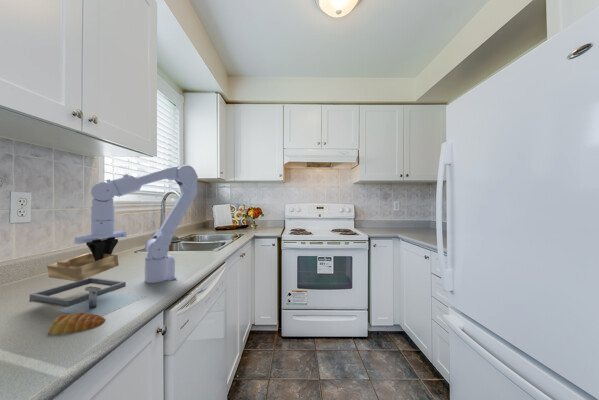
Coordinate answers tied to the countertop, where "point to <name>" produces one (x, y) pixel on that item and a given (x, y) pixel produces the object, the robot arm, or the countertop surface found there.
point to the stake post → (92, 296)
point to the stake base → (103, 303)
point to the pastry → (74, 323)
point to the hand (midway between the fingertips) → (102, 262)
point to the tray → (47, 293)
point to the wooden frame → (81, 267)
